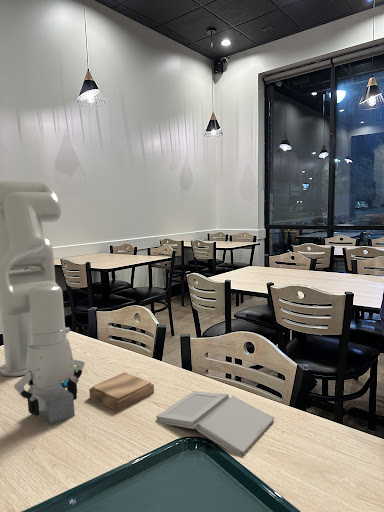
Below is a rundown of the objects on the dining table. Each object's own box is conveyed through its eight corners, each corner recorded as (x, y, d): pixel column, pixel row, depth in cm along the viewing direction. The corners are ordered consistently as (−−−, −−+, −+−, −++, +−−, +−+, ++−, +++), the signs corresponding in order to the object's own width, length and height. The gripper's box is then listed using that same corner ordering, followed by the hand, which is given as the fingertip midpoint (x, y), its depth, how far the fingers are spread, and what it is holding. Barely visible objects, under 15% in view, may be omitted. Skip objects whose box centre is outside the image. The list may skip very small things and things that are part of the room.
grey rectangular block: (35, 413, 87) (33, 391, 87) (58, 403, 91) (57, 383, 91) (50, 427, 81) (48, 404, 80) (74, 416, 85) (73, 394, 84)
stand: (89, 397, 94) (89, 386, 93) (125, 381, 103) (124, 371, 102) (118, 411, 86) (117, 400, 86) (154, 392, 95) (153, 382, 95)
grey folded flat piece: (274, 423, 80) (274, 407, 80) (242, 460, 68) (242, 441, 68) (194, 396, 94) (193, 383, 93) (155, 423, 82) (154, 407, 81)
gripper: (73, 326, 93) (77, 388, 95) (4, 344, 80) (10, 416, 81) (89, 330, 88) (93, 396, 90) (19, 350, 75) (25, 427, 77)
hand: (54, 405), depth 86 cm, fingers open, 9 cm apart
